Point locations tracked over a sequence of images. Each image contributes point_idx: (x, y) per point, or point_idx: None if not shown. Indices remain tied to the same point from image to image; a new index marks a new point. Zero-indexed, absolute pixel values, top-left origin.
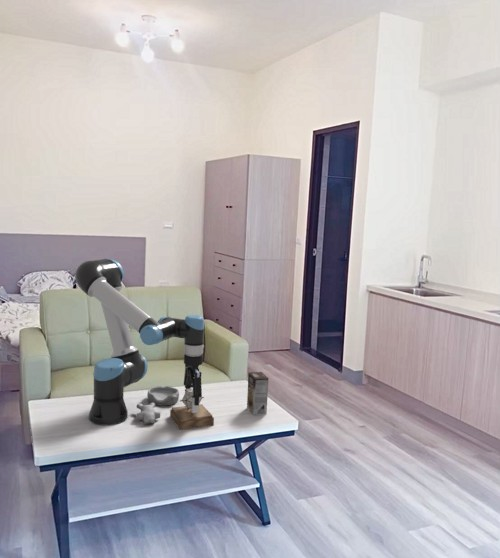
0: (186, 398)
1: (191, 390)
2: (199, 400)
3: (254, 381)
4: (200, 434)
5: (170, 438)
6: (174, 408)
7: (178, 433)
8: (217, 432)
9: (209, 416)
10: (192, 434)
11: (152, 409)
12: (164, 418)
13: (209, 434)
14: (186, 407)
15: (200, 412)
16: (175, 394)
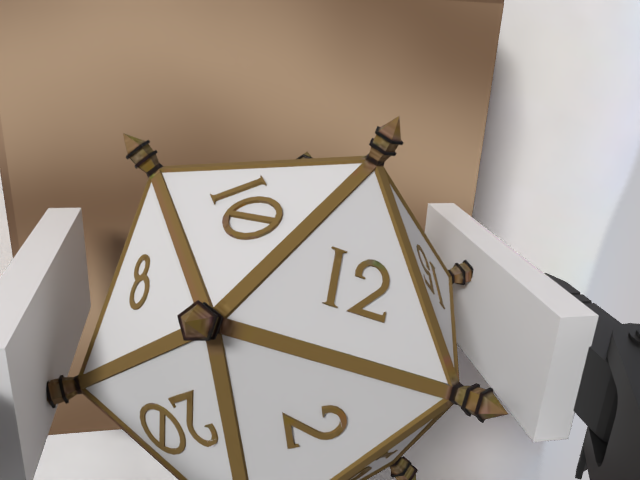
0: (376, 469)
1: (241, 429)
2: (417, 221)
3: None
4: (589, 207)
5: (535, 444)
6: (86, 411)
7: (480, 376)
8: (637, 26)
9: (490, 49)
10: (554, 274)
11: None
12: (96, 431)
13: (632, 125)
14: (87, 263)
15: (336, 130)
16: None
